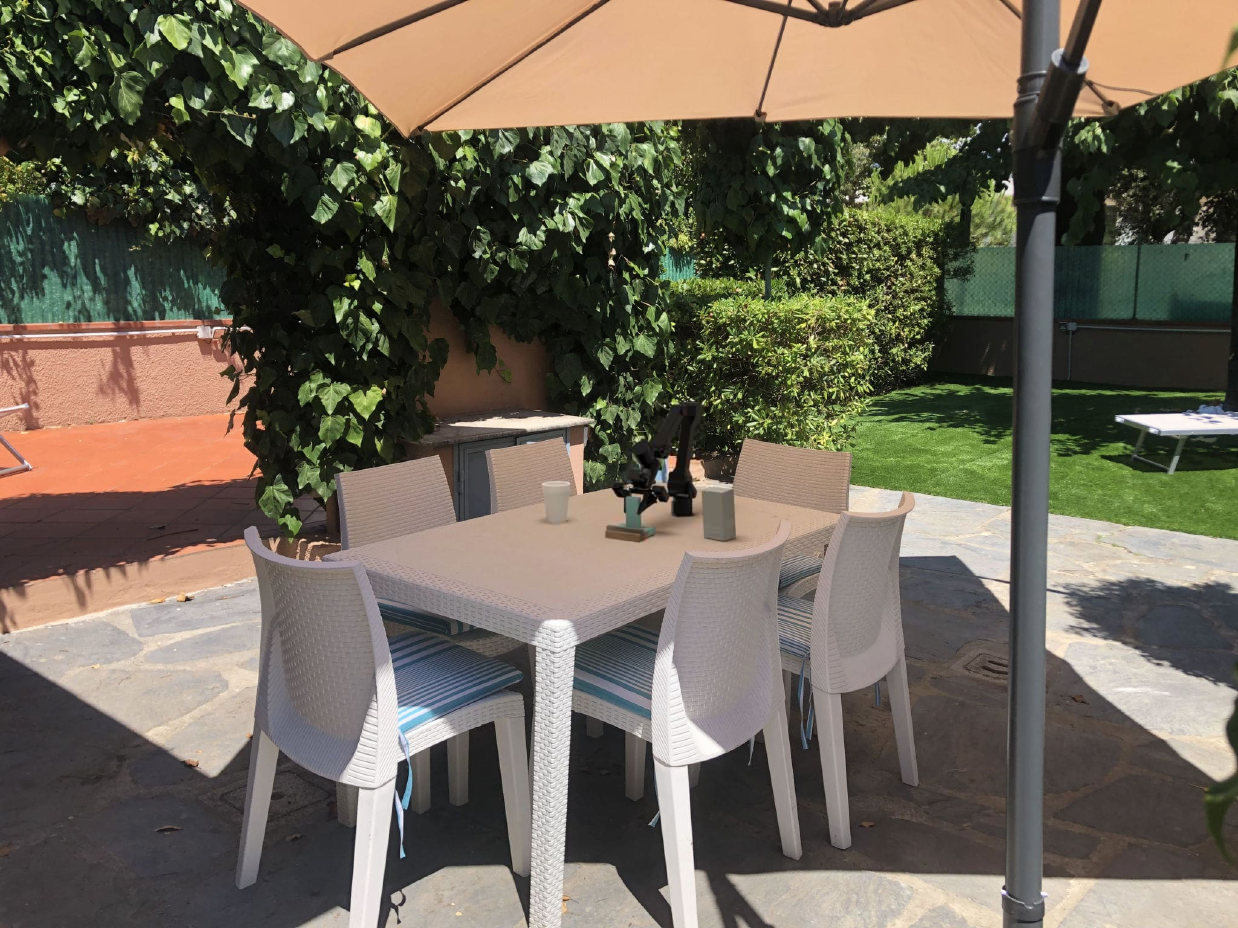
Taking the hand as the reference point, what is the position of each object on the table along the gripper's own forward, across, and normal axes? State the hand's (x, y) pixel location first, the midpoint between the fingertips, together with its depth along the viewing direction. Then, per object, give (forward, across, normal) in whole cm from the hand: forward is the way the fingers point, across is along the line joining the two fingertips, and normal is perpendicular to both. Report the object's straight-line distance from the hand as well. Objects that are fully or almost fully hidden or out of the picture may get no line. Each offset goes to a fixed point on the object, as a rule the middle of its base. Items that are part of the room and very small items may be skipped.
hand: (631, 513), depth 311 cm
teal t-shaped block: (+3, 0, +6) cm, 7 cm away
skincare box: (-2, +26, +12) cm, 29 cm away
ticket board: (+7, 0, +3) cm, 8 cm away
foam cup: (+1, -32, +9) cm, 33 cm away
